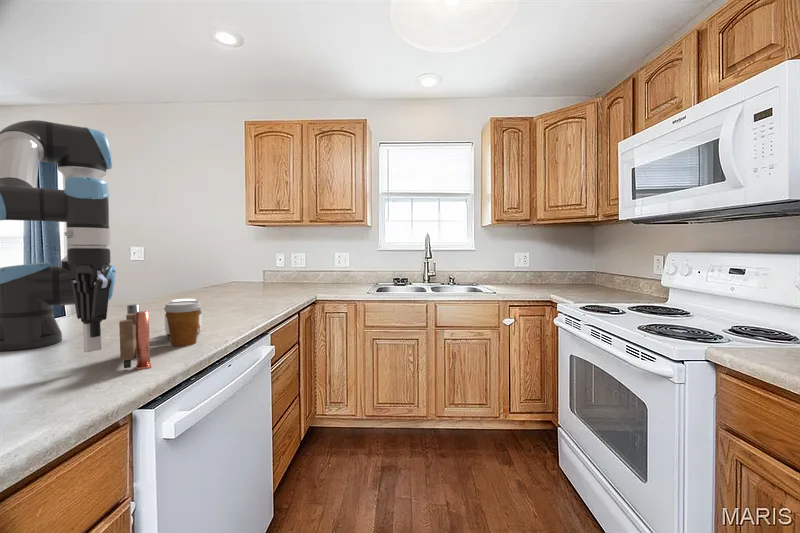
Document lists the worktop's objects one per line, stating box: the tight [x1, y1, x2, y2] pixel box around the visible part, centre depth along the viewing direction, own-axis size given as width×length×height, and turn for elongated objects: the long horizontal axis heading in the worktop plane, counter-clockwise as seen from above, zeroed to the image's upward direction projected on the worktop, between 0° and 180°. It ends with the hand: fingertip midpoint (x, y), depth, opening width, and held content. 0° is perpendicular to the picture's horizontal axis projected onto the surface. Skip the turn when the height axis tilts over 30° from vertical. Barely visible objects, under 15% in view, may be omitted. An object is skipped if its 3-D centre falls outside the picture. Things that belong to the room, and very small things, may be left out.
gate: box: [118, 313, 136, 369], centre depth 91 cm, size 2×13×11 cm, turn 29°
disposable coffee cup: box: [163, 300, 202, 347], centre depth 110 cm, size 10×10×12 cm
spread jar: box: [164, 298, 203, 338], centre depth 120 cm, size 12×11×12 cm
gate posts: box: [126, 304, 152, 371], centre depth 93 cm, size 17×4×13 cm, turn 38°
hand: (92, 350), depth 87 cm, fingers closed
